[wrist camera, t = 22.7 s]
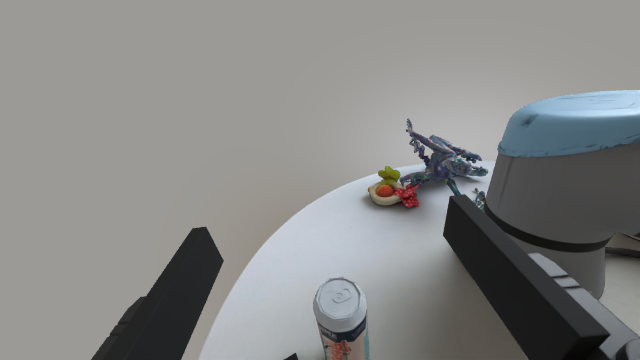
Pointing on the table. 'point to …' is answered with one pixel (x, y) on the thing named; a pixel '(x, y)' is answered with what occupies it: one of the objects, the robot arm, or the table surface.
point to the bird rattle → (384, 192)
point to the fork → (292, 357)
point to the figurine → (444, 163)
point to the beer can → (342, 320)
